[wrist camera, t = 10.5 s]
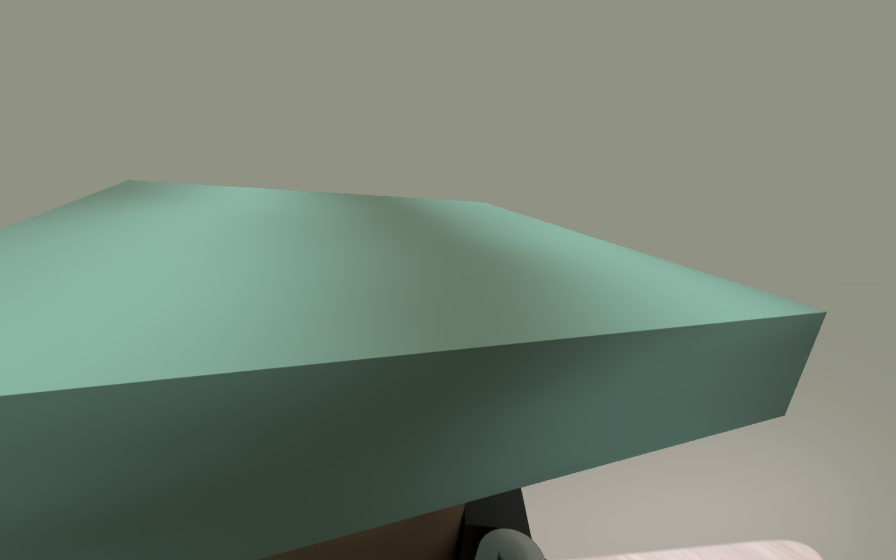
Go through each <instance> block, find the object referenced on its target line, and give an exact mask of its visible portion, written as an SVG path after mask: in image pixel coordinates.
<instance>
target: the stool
mask: <svg viewBox="0 0 896 560" xmlns="http://www.w3.org/2000/svg"><path fill="white" fill-rule="evenodd" d="M826 313H827V312H826V311H823V310H819V309H816V308H813V307H810V306H807V305H804V304H801V303H798V302H794V301H791V300H788V299H785V298H782V297H779V296H776V295H772V294H769V293H766V292H763V291H760V290H757V289H754V288H750V287H747V286H744V285H741V284H738V283H735V282H732V281H729V280H725V279H722V278H719V277H716V276H713V275H710V274H707V273H703V272H700V271H697V270H694V269H691V268H688V267H685V266H681V265H678V264H675V263H672V262H668V261H665V260H662V259H659V258H656V257H653V256H650V255H647V254H644V253H640V252H638V251H634V250H631V249H628V248H625V247H622V246H618V245H615V244H612V243H609V242H606V241H603V240H600V239H597V238H593V237H590V236H587V235H584V234H581V233H578V232H574V231H571V230H568V229H565V228H562V227H559V226H556V225H553V224H550V223H547V222H543V221H540V220H537V219H534V218H531V217H528V216H525V215H521V214H518V213H515V212H512V211H509V210H505V209H503V208H499V207H496V206H493V205H490V204H487V203H484V202H468V201H452V200H436V199H421V198H420V199H419V198H404V197H388V196H373V195H356V194H341V193H325V192H309V191H308V192H307V191H293V190H277V189H260V188H245V187H229V186H212V185H197V184H181V183H165V182H149V181H133V180H128V181H125V182H123V183H120V184H118V185H115V186H112V187H109V188H107V189H104V190H102V191H99V192H97V193H94V194H91V195H89V196H86V197H83V198H81V199H78V200H76V201H73V202H70V203H68V204H65V205H63V206H60V207H57V208H55V209H52V210H49V211H47V212H44V213H42V214H39V215H36V216H34V217H31V218H29V219H26V220H23V221H21V222H18V223H15V224H13V225H10V226H8V227H5V228H3V229H0V560H457V554H458V547H459V541H460V534H461V528H462V521H463V515H464V508H465V503H466V502H470V501H474V500H477V499H481V498H485V497H488V496H492V495H496V494H499V493H503V492H507V491H510V490H514V489H518V488H521V487H525V486H529V485H532V484H535V483H540V482H543V481H546V480H550V479H554V478H558V477H561V476H565V475H569V474H572V473H576V472H580V471H583V470H587V469H591V468H594V467H598V466H601V465H605V464H609V463H613V462H616V461H620V460H623V459H627V458H631V457H634V456H638V455H642V454H646V453H649V452H653V451H656V450H660V449H664V448H667V447H671V446H675V445H678V444H682V443H686V442H689V441H693V440H696V439H700V438H704V437H707V436H711V435H715V434H719V433H722V432H726V431H729V430H733V429H737V428H741V427H744V426H748V425H751V424H755V423H758V422H762V421H766V420H770V419H773V418H777V417H780V416H784V415H785V413H786V411H787V408H788V406H789V403H790V401H791V398H792V396H793V394H794V391H795V389H796V386H797V384H798V381H799V379H800V377H801V374H802V372H803V369H804V367H805V364H806V362H807V359H808V357H809V354H810V352H811V350H812V347H813V345H814V342H815V340H816V337H817V335H818V332H819V330H820V327H821V325H822V323H823V320H824V318H825V315H826Z"/></svg>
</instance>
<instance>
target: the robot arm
mask: <svg viewBox="0 0 896 560" xmlns="http://www.w3.org/2000/svg"><path fill="white" fill-rule="evenodd" d="M457 560H546V559H545V558H544V555H543V553H542V552H541V550H540V548H539V547H538V546H537V544H536V543H535V542H534V541H533V540H532V538H531V534H530V529H529V524H528V520H527V515H526V510H525V505H524V500H523V496H522V491H521V488H518V489H514V490H510V491H507V492H503V493H499V494H496V495H492V496H488V497H485V498H481V499H477V500H474V501H470V502H466V503H465V508H464V515H463V521H462V528H461V534H460V541H459V547H458V554H457Z"/></svg>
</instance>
